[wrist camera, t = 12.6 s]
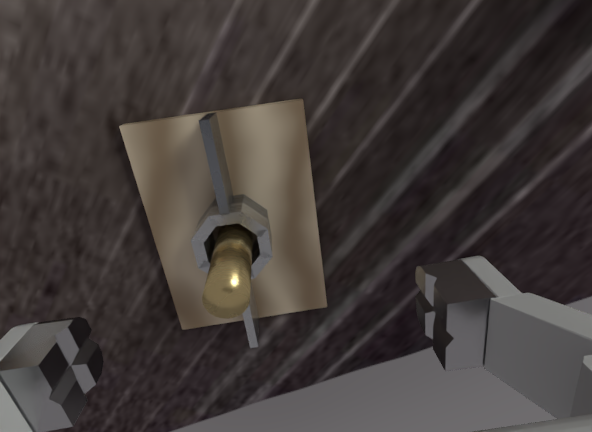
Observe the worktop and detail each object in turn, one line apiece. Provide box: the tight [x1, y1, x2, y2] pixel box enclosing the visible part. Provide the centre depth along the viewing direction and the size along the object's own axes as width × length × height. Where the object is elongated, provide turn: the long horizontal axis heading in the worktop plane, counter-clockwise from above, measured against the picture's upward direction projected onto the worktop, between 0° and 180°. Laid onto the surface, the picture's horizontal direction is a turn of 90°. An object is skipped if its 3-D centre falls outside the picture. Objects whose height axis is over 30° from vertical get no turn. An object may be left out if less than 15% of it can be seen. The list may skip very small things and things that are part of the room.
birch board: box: [119, 99, 327, 330], centre depth 37 cm, size 16×22×2 cm
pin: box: [202, 223, 253, 319], centre depth 30 cm, size 3×3×12 cm
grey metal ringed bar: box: [191, 112, 273, 348], centre depth 34 cm, size 7×22×4 cm, turn 8°
